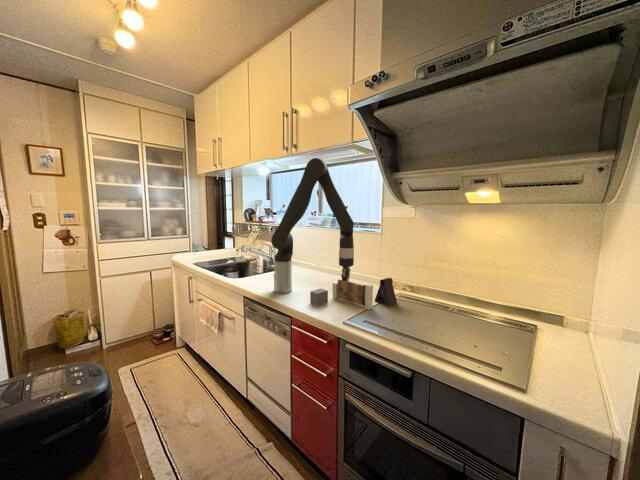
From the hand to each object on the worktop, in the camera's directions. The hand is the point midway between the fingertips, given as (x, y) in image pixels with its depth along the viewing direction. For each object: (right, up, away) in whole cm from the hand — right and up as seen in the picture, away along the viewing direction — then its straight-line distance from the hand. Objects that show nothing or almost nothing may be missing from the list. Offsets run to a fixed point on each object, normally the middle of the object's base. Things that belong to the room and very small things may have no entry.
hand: (345, 289), depth 134 cm
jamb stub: (-5, -4, -1) cm, 7 cm away
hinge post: (+9, -6, -15) cm, 19 cm away
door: (+2, -5, -9) cm, 10 cm away
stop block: (-14, -5, -8) cm, 17 cm away
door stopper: (+19, -5, -8) cm, 21 cm away
